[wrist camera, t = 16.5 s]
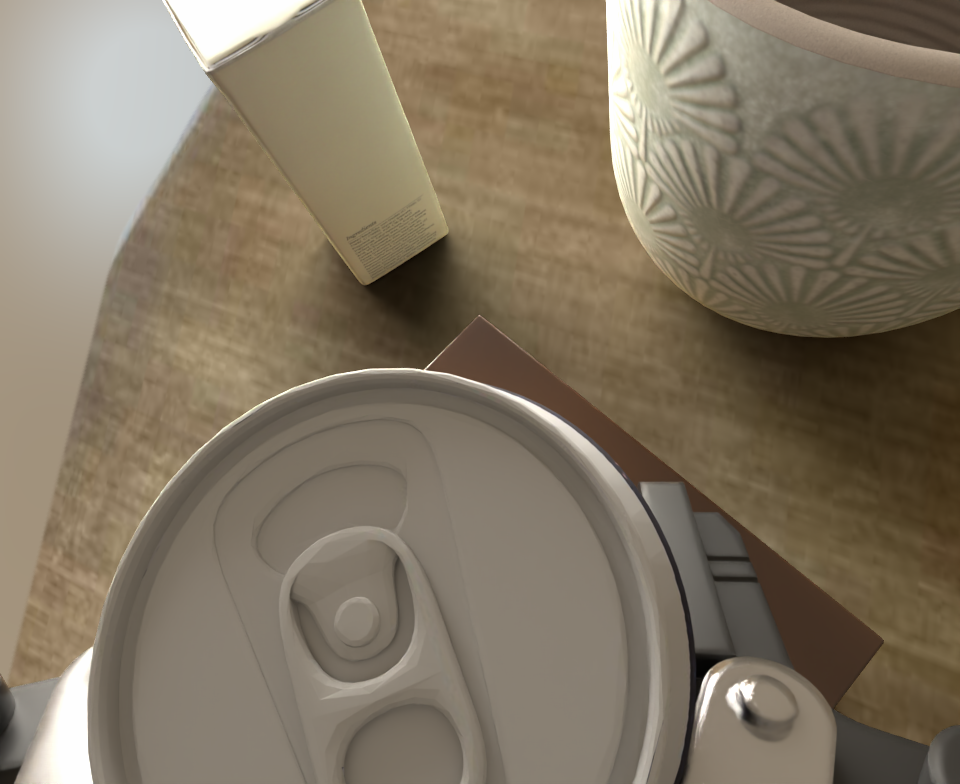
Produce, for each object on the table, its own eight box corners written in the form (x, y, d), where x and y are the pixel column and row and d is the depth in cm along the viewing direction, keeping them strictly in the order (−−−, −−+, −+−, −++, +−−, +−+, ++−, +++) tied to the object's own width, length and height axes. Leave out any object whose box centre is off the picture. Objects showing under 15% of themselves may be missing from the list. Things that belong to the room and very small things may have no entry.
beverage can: (564, 481, 17) (535, 238, 6) (661, 686, 15) (903, 916, 4) (382, 562, 17) (12, 471, 6) (454, 778, 15) (85, 1274, 4)
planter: (960, 57, 28) (1355, -513, 14) (1051, 401, 22) (1878, 39, 8) (590, 84, 31) (601, -366, 16) (588, 395, 25) (602, 119, 11)
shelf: (564, 915, 19) (558, 1073, 13) (301, 598, 24) (198, 595, 18) (791, 630, 21) (887, 640, 15) (503, 387, 26) (479, 312, 19)
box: (409, 178, 30) (299, -100, 18) (452, 237, 29) (364, -26, 17) (320, 233, 30) (150, -14, 18) (359, 295, 28) (201, 70, 17)
